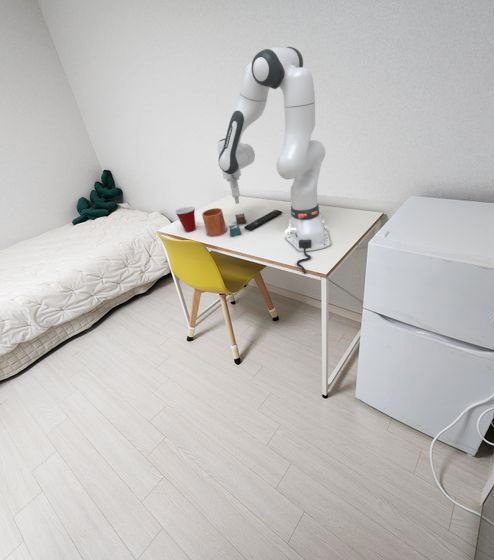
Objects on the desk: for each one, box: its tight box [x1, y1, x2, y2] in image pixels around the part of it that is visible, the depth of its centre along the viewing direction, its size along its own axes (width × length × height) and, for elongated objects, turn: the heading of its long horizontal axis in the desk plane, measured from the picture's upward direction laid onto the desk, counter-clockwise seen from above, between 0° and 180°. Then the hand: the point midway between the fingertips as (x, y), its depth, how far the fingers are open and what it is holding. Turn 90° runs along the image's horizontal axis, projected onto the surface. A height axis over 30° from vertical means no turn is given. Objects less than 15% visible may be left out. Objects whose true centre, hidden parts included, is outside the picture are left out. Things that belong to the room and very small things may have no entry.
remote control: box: [243, 209, 283, 231], centre depth 162 cm, size 5×24×1 cm, turn 133°
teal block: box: [228, 223, 241, 238], centre depth 154 cm, size 5×5×4 cm
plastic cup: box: [174, 206, 197, 233], centre depth 166 cm, size 11×11×12 cm
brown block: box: [235, 213, 247, 226], centre depth 165 cm, size 5×5×4 cm
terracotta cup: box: [201, 207, 227, 238], centre depth 158 cm, size 10×10×11 cm
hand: (236, 200), depth 159 cm, fingers open, 8 cm apart
